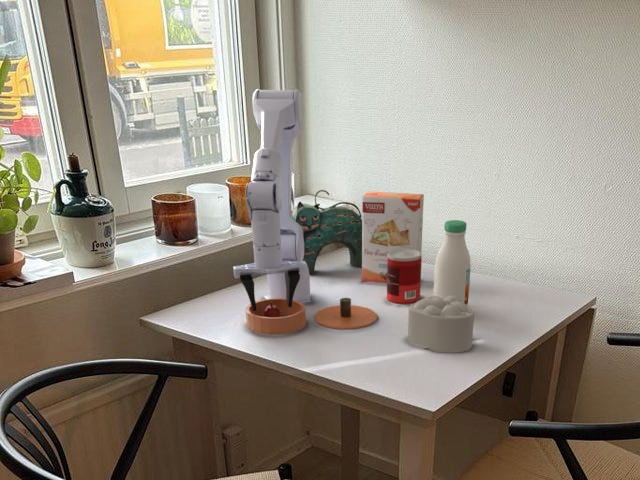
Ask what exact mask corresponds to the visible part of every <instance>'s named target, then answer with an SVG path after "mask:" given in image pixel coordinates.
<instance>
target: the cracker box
mask: <svg viewBox="0 0 640 480" xmlns="http://www.w3.org/2000/svg"><path fill="white" fill-rule="evenodd" d="M424 201H425V194H424V193H408V192H406V193H405V192H387V191H371V190H370V191H368V190H367V191H366V192H365V193H364V194H363V195H362V205H361V206H362V208H361V209H362V211H361V219H362V267H361V283H370V282H372V283H386V284H387V256H388V253H389V252H390V251H393V250H397V249H412V250H417V251H419V252H421V253H422V246H423V228H424V227H423V225H424V203H425V202H424Z"/></svg>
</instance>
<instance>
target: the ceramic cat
mask: <svg viewBox="0 0 640 480" xmlns="http://www.w3.org/2000/svg"><path fill="white" fill-rule="evenodd" d="M321 192H323V193H326V194H327V195H328V196H330V193H329V191H327V190H325V189H319V190H318V191H317V192H316V193H315V196H314V205H312V204H309V203H303V202H301V201H299V202H298V203H297V205H296V206H295V207H294V208H293V209H292V211H291V218H292V219H293V220H294V221H295V222H297V223H298V224H299V225H300V226H301V227H302V230H303V238H304V258H303V260H302V261H305V262H306V264H307V266H308V269H309V275H313V274H315V271H316V269H315V268H316V264H317V260H318V256H319V255H320V253H321V251H322V250H323V248H324V247H326V246H329V245H332V244H335V243H337V244H341V245H344V246H345V247H346V248H347V249H348V252H349V264H350V266H352V267H354V268H362V212H361V211H360V208H359V207H358V206H357V205H356V204H355V203H352V202H349V201H340V202H337V203H335V204H333V205H331V206H328V207H324V208H323V207H320V205H321V204H320V203H317V195H318V194H320V193H321ZM339 205H350V206H352V207H354V208H355V209H356V210H357V211H358V213H357V212H356V211H354V210H353V209H350V208H348V207H345V206H339Z"/></svg>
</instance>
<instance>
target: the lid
mask: <svg viewBox="0 0 640 480" xmlns="http://www.w3.org/2000/svg"><path fill="white" fill-rule="evenodd" d="M377 318H378V317H377V313H376V312H375V311H374V310H373V309H371V308H369V307H365V306H361V305H354V304H353V305H352V299H351V298H350V297H342V298H340V299H339V305H333V306H328V307H324V308H322V309H320V310H317V312H316V313H315V314H314V321H315V322H316V323H317V324H319V325H320V326H322V327H326V328H330V329H334V330H336V329H337V330H354V329H360V328H366V327H368V326H370V325H373V324H374V323H375V322H376V321H377Z"/></svg>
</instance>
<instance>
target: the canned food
mask: <svg viewBox="0 0 640 480" xmlns="http://www.w3.org/2000/svg"><path fill="white" fill-rule="evenodd" d="M422 257H423V256H422V251H421V252H419V251H417V250H412V249H397V250H393V251H390V252H389V253H388V256H387V283H386V299H387V301H388V302H390V303H393V304H398V305H411V304H415V303H417V302H418V301H420V300H421V299H420V298H421V285H422V284H421V283H422V261H423V260H422V259H423V258H422Z"/></svg>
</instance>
